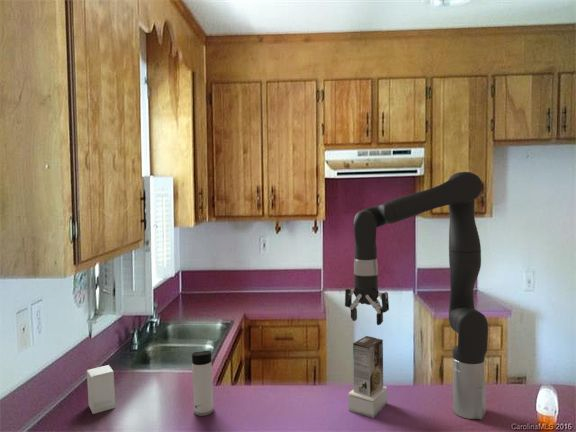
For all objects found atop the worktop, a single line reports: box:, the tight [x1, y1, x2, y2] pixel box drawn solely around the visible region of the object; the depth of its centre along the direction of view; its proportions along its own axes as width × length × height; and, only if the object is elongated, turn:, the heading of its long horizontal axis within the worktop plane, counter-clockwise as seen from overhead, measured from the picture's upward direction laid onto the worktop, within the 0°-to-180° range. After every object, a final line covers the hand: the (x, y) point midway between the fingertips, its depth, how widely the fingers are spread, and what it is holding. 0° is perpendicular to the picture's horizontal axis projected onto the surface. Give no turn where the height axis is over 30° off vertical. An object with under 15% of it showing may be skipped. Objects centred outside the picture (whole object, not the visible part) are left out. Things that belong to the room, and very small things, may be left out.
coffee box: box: [352, 335, 384, 397], centre depth 143 cm, size 9×6×16 cm
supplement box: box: [86, 364, 116, 415], centre depth 149 cm, size 7×7×13 cm
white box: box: [347, 388, 388, 419], centre depth 144 cm, size 8×11×5 cm
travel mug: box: [191, 350, 214, 417], centre depth 143 cm, size 6×7×20 cm
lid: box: [348, 385, 388, 401], centre depth 143 cm, size 8×11×1 cm
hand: (366, 322), depth 142 cm, fingers open, 8 cm apart
